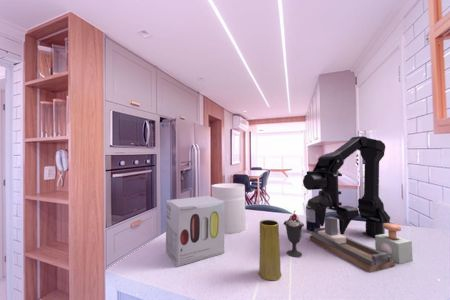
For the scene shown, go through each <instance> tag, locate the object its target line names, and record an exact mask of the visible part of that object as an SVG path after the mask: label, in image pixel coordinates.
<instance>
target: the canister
mask: <svg viewBox="0 0 450 300" xmlns="http://www.w3.org/2000/svg"><path fill="white" fill-rule="evenodd" d="M211 197H213V198H216V199H219V200H222V201H224V235H226V234H227V235H233V234H238V233H239V234H240V233H242V232H244V231H245V230H246V186H245V184H243V183H235V182H233V183H230V182H229V183H228V182H227V183H225V182H224V183H215V184H211Z"/></svg>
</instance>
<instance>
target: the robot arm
mask: <svg viewBox="0 0 450 300" xmlns="http://www.w3.org/2000/svg"><path fill="white" fill-rule="evenodd" d="M357 151H359V153H360V156H361V158H362V159H363V162H364V171H363V172H364V174H363V175H364V177H363V178H364V179H363V180H364V182H363V183H364V185H363V187H364V188H363V195H362V197H361V198H360V197H359V198H358V200H357V207H354V206H349V205H343V203H342V202H341V201H340V196H339V195H342V191H340V190H339V177H343V174H342V173H341V172H339V170H340V169H341V167H342V166H344V163H345V161H346V159H347V158H348V157H350V156H351V155H353V154H354V153H355V152H357ZM385 152H386V144H385V142H383V141H382V140H380V139H375V138H369V137H366V136H363V135H359V136H353V137H351V138H350V139H349V140H348V141H346V142H344V144H342V145H341V146H339V147H338V148H337V149H335V150H334V151H331V152H329V153H328V152H327V153H325V154H322V155H320V156H319V157H318V159H317V162H316V164H315V166H314V168H313V170H308V171H306V175H304V176H303V179H302V184H303V186H304V188H305V189H306V190H308V191H313V190H316V191H317V190H318V195H316V196H313V197H311V198H309V199H308V201H307V203H308V206H310V208H311V209H312V210H314V211H315V213H316V215H317V217H318V220H319V223H320V227H325V217H326V215H327V214H326V213H327V209H328V210H331V211H334V212H336V214H337V215H336V216H335V218H337V220H338V227H339V229H338V230H339V234H340V235H344V234H345V232H346V229H348V226H349V224H350V223H351V222H352V220H353V219H355V218H357V217H359V215H360V218H361V219H365V231H362V234H364V235H366V236H369V237H372V238H374V239H375V235H381V234H386V232H385V230H386V229H385V228H384V226H383V224H384V223H390V221H391V216H390V215H389V214H388V213H387V212H386V210H385V206H384V203H383V201H382V199H381V198H380V192H379V191H380V189H379V188H380V162H381V160H382V159H383V158H384V157H385Z"/></svg>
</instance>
